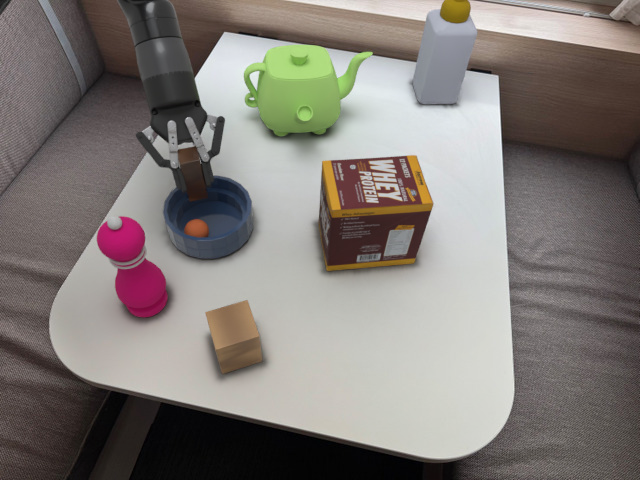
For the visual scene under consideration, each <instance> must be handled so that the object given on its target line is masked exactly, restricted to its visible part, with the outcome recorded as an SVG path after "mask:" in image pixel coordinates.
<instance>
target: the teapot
mask: <svg viewBox="0 0 640 480" xmlns="http://www.w3.org/2000/svg"><path fill="white" fill-rule="evenodd" d="M373 54H374V53H373V51H363V52H360V53H357V54H356V55H354V56H353V57H352V58H351V60H349V61H350V62H349V64H348V66H347V69H346V71H345V72H344V74H342V75H341V76H339V77H338V76H337V74H336V73H337V72H336V69H335V66H334V64H333V60H332V58H331V56H330V53H329V51H328V50H327V48H325V47H323V46H320V45H313V44H288V45H279V46H275V47H272V48H269V49H268V50H267V51H266V53H265V55H264V56H263V60H262V61H261V62H259V61H257V62H253V63H251V64H249V65H248V66H247V67H246V68H245V69H244V72H243V81H244V84H245V86H246V88H247V90H248V91H249V92H248V93H246V94H245V96H244V104H245V105H246V106H247V107H249V108H252V109H253V108H254V109H255V108H257V110H258V114H259V117H260V119H261V121H262V122H263V124H264V125H265V126H266V127H267V128H268V129H269V130H272V131H273V134H274V135H275V136H278V137H286V136H288V135H289V134H290V133H292V134H293V133H295V134H298V133H299V134H302V133H311V132H312V133H313V134H316V135H324V134H325V133H326V132H327V129H329V128H331V127H332V126H333V125H334V124H335V123H336V122H337V121H338V119H339V118H340V115H341V108H342V107H341V100H343V99H345V98H347V96H348V95H350V93H351V92H352V90H353V89H354V86H355V83H356V78H357V75H358V72H359V68H360V67H361V65H362V63H363V62H364V61H365V60H367V59H368V58H370V57H371V56H372V55H373ZM255 72H258V77H257V84H256V85H257V86H256V87H255V86H254V84H253V82H252V80H251V77H250V75H251V74H253V73H255ZM251 98H253V99H251Z"/></svg>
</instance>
